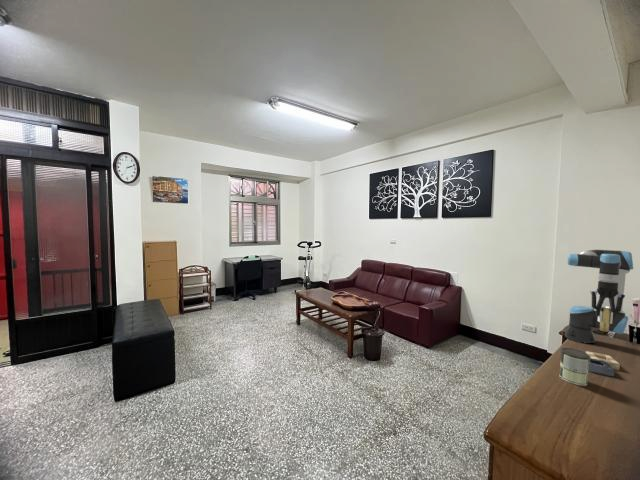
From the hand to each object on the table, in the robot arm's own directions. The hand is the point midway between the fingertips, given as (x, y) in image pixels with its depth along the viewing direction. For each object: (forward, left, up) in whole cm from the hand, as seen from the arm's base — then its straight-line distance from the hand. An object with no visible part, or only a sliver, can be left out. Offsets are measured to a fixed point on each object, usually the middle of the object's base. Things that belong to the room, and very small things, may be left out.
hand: (604, 322), depth 148 cm
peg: (0, 0, -5) cm, 5 cm away
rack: (-1, 0, -24) cm, 24 cm away
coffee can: (+32, -21, -24) cm, 45 cm away
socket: (+11, -6, -24) cm, 27 cm away
